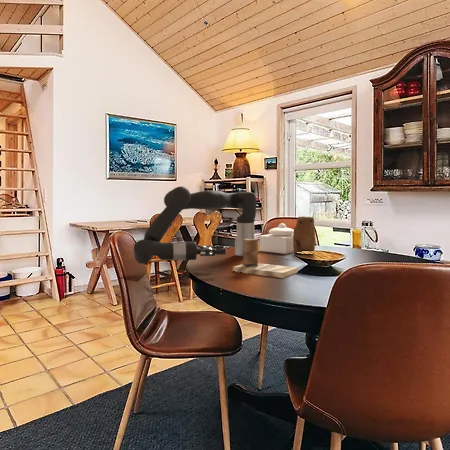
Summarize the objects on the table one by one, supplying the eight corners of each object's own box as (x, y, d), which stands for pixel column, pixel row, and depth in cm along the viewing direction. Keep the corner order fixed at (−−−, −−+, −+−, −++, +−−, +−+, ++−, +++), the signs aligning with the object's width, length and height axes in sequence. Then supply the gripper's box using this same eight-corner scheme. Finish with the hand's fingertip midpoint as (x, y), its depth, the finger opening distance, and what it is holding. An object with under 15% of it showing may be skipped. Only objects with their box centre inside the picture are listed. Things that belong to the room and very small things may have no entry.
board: (232, 271, 159) (232, 266, 159) (249, 266, 170) (249, 262, 170) (283, 278, 146) (283, 272, 146) (297, 272, 157) (297, 267, 156)
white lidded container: (285, 254, 207) (286, 224, 205) (259, 251, 219) (259, 223, 218) (303, 250, 220) (303, 222, 218) (276, 247, 232) (276, 221, 231)
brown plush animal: (312, 253, 208) (313, 216, 207) (315, 255, 201) (315, 217, 199) (292, 253, 208) (292, 216, 207) (294, 255, 201) (294, 217, 199)
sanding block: (245, 266, 159) (245, 240, 158) (243, 264, 164) (243, 238, 163) (257, 266, 160) (257, 239, 159) (254, 264, 165) (254, 238, 164)
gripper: (185, 243, 149) (226, 243, 152) (183, 239, 163) (220, 239, 166) (185, 263, 150) (226, 261, 152) (183, 257, 164) (220, 256, 166)
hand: (223, 250), depth 159 cm, fingers open, 8 cm apart
